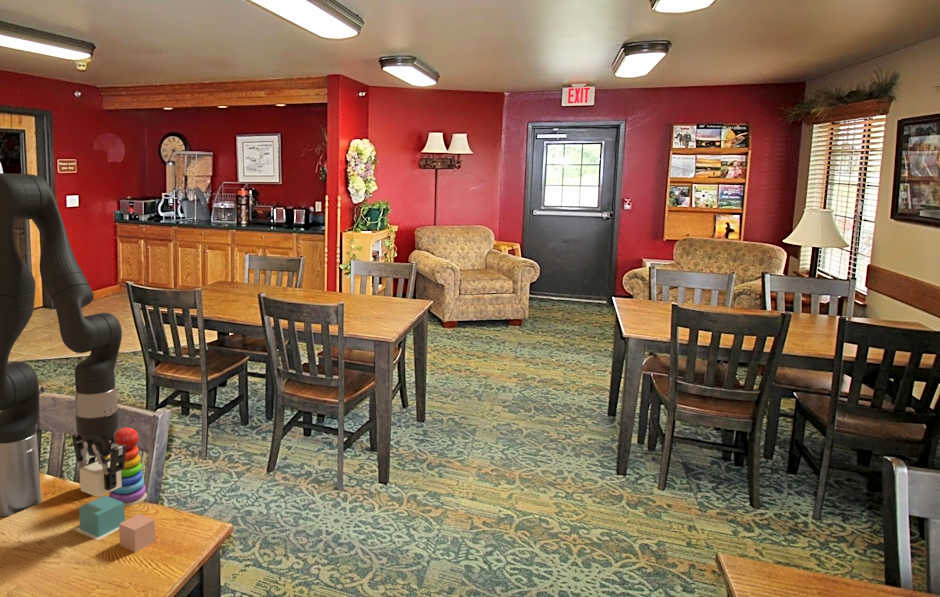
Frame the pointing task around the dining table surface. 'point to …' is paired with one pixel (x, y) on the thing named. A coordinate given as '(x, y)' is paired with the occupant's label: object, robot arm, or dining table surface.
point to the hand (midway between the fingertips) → (101, 484)
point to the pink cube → (137, 532)
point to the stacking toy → (130, 470)
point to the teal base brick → (101, 515)
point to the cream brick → (96, 479)
